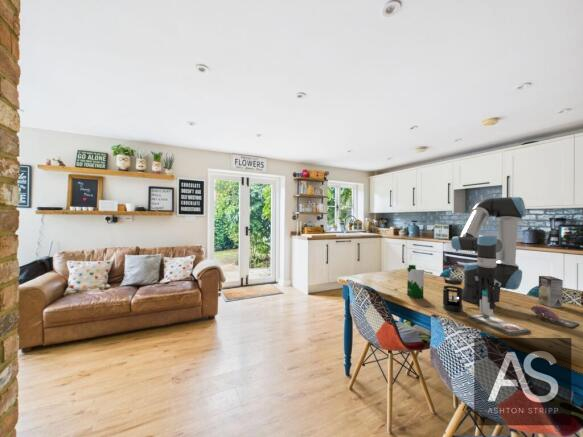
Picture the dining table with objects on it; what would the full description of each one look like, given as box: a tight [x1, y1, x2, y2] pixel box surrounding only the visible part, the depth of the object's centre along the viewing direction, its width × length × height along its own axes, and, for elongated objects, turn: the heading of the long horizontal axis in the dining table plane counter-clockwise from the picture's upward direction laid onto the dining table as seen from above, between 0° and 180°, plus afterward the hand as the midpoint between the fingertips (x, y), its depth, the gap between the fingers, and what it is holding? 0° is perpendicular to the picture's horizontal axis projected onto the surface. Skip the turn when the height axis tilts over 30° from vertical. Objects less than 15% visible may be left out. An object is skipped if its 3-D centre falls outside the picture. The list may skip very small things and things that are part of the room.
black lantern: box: [442, 267, 464, 314], centre depth 139 cm, size 12×9×23 cm
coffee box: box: [538, 275, 564, 308], centre depth 148 cm, size 9×6×16 cm
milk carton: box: [406, 264, 425, 299], centre depth 162 cm, size 9×9×20 cm
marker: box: [481, 290, 490, 318], centre depth 124 cm, size 3×3×13 cm
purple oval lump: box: [530, 304, 560, 322], centre depth 127 cm, size 10×5×7 cm, turn 6°
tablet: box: [466, 313, 532, 336], centre depth 119 cm, size 20×12×1 cm, turn 13°
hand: (486, 313), depth 124 cm, fingers closed on marker, 3 cm apart
